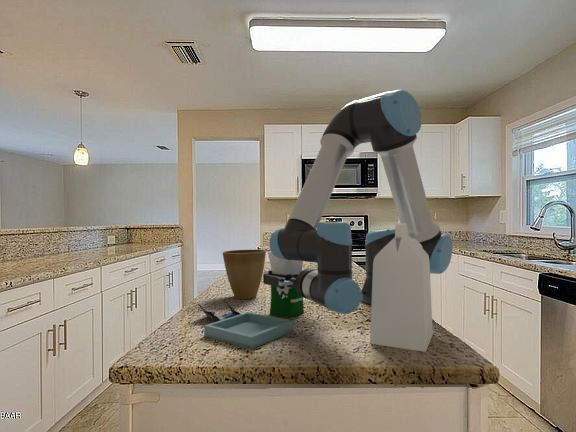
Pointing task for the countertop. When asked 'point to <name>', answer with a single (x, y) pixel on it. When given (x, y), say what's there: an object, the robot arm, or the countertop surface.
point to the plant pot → (244, 271)
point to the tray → (248, 329)
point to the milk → (401, 294)
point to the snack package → (223, 316)
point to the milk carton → (287, 298)
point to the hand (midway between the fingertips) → (280, 272)
